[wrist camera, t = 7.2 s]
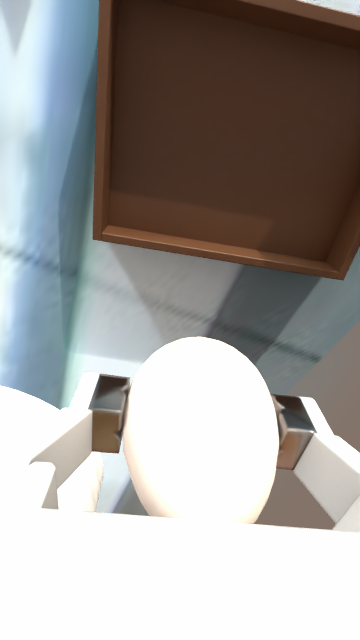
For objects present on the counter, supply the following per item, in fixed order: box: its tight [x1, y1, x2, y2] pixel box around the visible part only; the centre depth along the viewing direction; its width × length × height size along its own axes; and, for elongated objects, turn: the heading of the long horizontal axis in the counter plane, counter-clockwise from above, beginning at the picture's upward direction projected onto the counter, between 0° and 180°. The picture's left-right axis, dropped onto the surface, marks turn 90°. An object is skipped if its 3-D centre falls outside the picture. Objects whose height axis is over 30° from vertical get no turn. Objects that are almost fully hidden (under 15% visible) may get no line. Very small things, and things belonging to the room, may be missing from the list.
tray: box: [93, 0, 360, 280], centre depth 20 cm, size 19×14×3 cm
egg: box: [122, 337, 279, 524], centre depth 10 cm, size 5×5×7 cm
